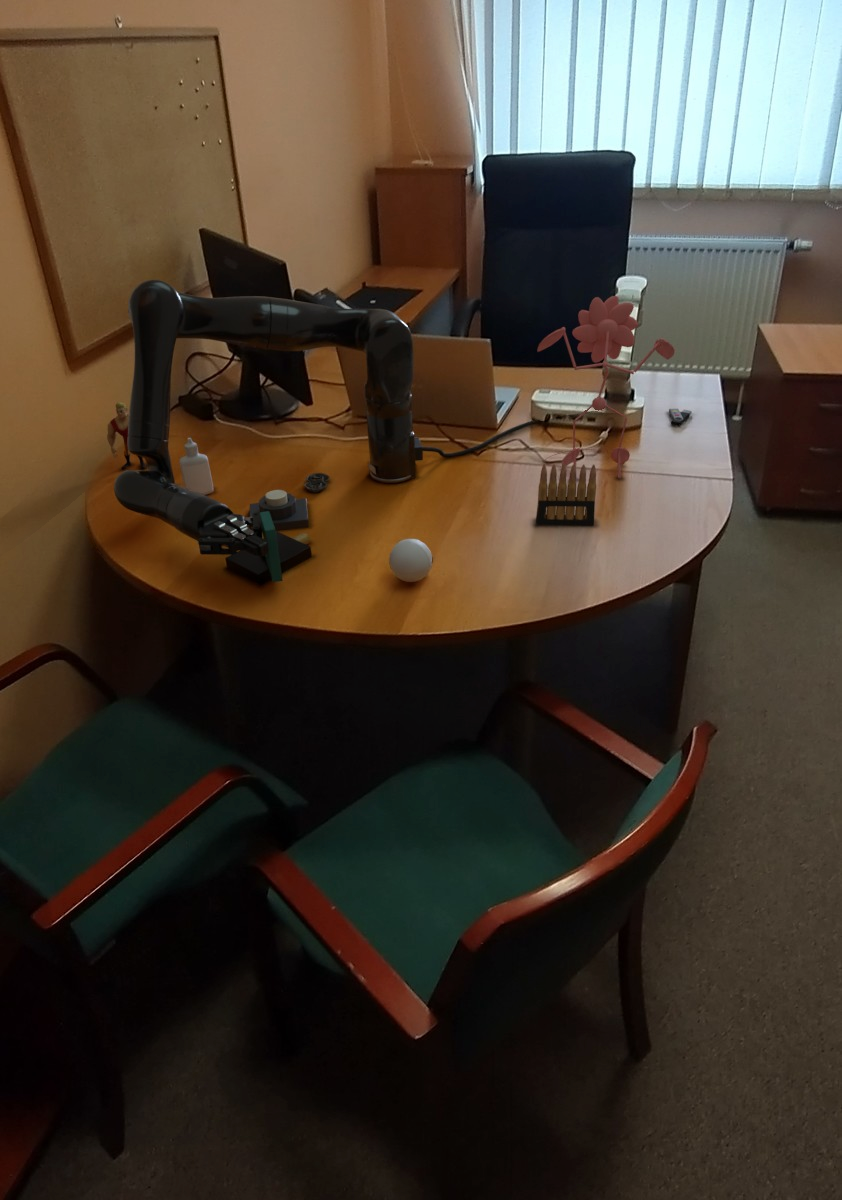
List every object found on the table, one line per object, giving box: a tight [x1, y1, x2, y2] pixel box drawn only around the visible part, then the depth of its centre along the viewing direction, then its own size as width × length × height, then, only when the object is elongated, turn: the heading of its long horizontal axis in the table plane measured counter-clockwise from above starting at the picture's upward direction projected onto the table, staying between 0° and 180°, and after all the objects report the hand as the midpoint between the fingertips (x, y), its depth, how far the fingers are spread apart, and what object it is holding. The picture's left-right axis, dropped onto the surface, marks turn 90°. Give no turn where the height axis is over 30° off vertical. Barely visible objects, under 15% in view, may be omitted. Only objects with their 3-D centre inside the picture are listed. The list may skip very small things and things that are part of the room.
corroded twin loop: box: [303, 472, 330, 493], centre depth 174 cm, size 5×8×1 cm, turn 0°
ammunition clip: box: [535, 463, 597, 527], centre depth 155 cm, size 11×2×12 cm, turn 86°
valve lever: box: [260, 511, 284, 583], centre depth 142 cm, size 12×3×10 cm, turn 17°
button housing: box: [249, 492, 310, 532], centre depth 162 cm, size 11×9×4 cm
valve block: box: [225, 530, 313, 586], centre depth 150 cm, size 15×9×2 cm, turn 139°
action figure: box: [106, 401, 147, 470], centre depth 181 cm, size 10×4×15 cm, turn 88°
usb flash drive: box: [668, 408, 692, 427], centre depth 198 cm, size 9×5×1 cm, turn 147°
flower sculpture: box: [536, 295, 676, 479], centre depth 169 cm, size 15×26×35 cm, turn 90°
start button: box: [265, 489, 288, 507], centre depth 160 cm, size 4×4×2 cm
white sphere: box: [388, 538, 434, 583], centre depth 143 cm, size 10×7×7 cm
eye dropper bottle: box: [179, 437, 215, 496], centre depth 170 cm, size 4×6×12 cm
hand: (264, 549), depth 134 cm, fingers closed
